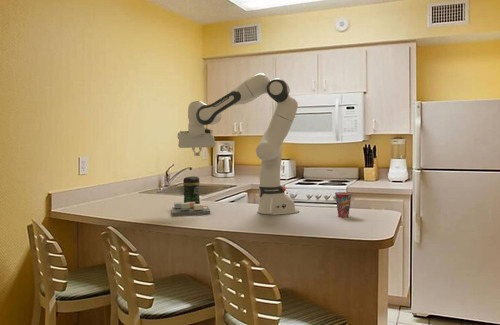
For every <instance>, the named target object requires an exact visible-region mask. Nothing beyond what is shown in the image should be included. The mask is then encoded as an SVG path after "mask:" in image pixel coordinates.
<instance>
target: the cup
mask: <svg viewBox="0 0 500 325" xmlns="http://www.w3.org/2000/svg"><path fill="white" fill-rule="evenodd" d="M334 194H335V201H336V208H337V217H338V218H345V219H346V218H349V216H350V208H351V200H352V195H355V192H350V191H349V192H347V191H339V192H337V191H336V192H334Z"/></svg>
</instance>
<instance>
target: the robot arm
mask: <svg viewBox="0 0 500 325" xmlns="http://www.w3.org/2000/svg"><path fill="white" fill-rule="evenodd" d="M265 94H267V95H268V96H269V97H270V98H271V99H272V100H274V102H276V106H275V110H274V112H273V115H272V116H271V120H270V122H269V124H268V126H267V128H266V130H265V132H264V134H263V135H262V137H261V139H260V141H259V142H258V145H257V146H256V149H255V154H256V156H257V158H258V159H260V160H261V163H260V169H259V188H258V196H259V200H258V201H259V202H258V207H257V213H258V214H262V215H264V214H265V215H271V216H272V215H273V216H276V215H287V214H298V213H300V210H299V209H298V208H297V207H296V206H295V201H294V200H293V199H292V198H291V197H290V196H289V195H287V193H285V192H286V191H287V188H286V186H285V187H284V186H282V185H281V165H282V154H283V148H282V145H283V142H284V141H285V139H286V137H287V136H288V134H289V132H290V130H291V127H292V125H293V123H294V120H295V118H296V116H297V110H298V106H299V103H298V101H297V100H296V99H295V98H293V97H291V96H290V95H289V94H290V86H289V85H288V83H287V81H285V79H282V78H278V77H277V78H276V77H275V78H273V79H271V80H270V79H269V77H268V76H267V75H266V74H265V73H262V72H259V73H257V74H255V75H253V76H251V77H249V78H247V79H246V80H244V81H243V82H242V81H241V83H240V84H238V85H237V86H236V87H235V88H234V89H233V90H231V91H229V93H227V94H226V95H223V96H222V97H221V98H219V99H218V100H216V101H214V102H212V103H210V104H206V103H204V102H203V101H201V100H197V101H196V100H195V101H192V102H190V103H189V104H188V109H187V119H188V125H187V126H188V127H187V129H188V130H184V131H183V130H180V131H179V132H178V133H177V139H178V143H177V145H178V148H180V149H189V148H190V149H191V150H192V151H193V153H194V154H193V155H194V157H200V156H201V151H202V148H215V146H216V141H215V140H216V139H215V136H214V134H213V130H212V129H209V128H207V127H205V126H208V125H216V124H218V123H220V121H221V118H222V112H224V111H226V110H227V109H229V108H231V107H233V106H237V105H245V104H248V103H250V102H252V101H254V100H256V99H257V98H259V97H260V96H262V95H265ZM196 148H198V149H199V150H198V152H196V151H195V149H196Z"/></svg>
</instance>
